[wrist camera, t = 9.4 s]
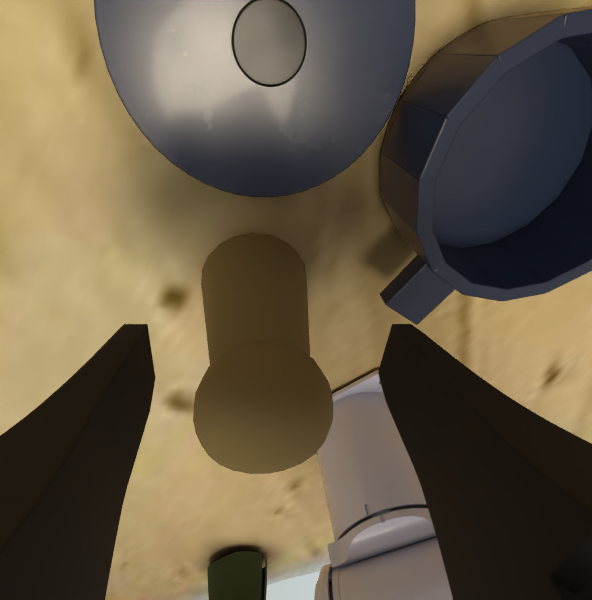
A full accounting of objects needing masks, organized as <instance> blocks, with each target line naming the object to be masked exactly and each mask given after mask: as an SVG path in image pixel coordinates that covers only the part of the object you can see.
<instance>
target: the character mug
mask: <svg viewBox="0 0 592 600" xmlns="http://www.w3.org/2000/svg"><path fill="white" fill-rule="evenodd" d="M266 588H267V558H266V561H265V567H264V568H262V555H261V554H260V553H256V552H252V551H242V552H234V553H232V554H230V555H228V556H225V557H223V558H221V559H219V560H217V561H215V562H213V563H212V564H211V565H210V566H209V567H208V592H209V600H266Z"/></svg>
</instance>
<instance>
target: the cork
mask: <svg viewBox="0 0 592 600" xmlns="http://www.w3.org/2000/svg"><path fill="white" fill-rule="evenodd" d="M201 285H202V294H203V304H204V313H205V322H206V331H207V341H208V350H209V359H210V366H209V367H208V369H207V371H206V373H205V375H204V377H203V379H202V380H201V383H200V385H199V387H198V389H197V391H196V395H195V402H194V417H193V421H194V426H195V431H196V434H197V436H198V438H199V441H200V443H201V445H202V447H203V448H204V449H205V451H206V452H207V454H208V455H209V456H210V457H211V458H212V459H213V460H215V461H216V462H217V463H218V464H220V465H222V466H224V467H226V468H229V469H231V470H233V471H239V472H245V473H251V474H265V473H273V472H278V471H283V470H286V469H288V468H291V467H293V466H296V465H298V464H301V463H303V462H304V461H306V460H307V459H308V458H310V457H311V456H313V455H314V454H315V453H316V452H317V451H318V450H319V449H320V447H321V446H322V445H323V444H324V442H325V440H326V438H327V435H328V433H329V430H330V427H331V424H332V421H333V409H334V407H333V399H332V392H331V389H330V385H329V382H328V380H327V379H326V377H325V375H324V374H323V372H322V371H321V369H320V368H319V366H318V365H317V363H316V362H315V360H314V359H313V358H311V357H310V344H309V324H308V303H307V282H306V273H305V266H304V264H303V262H302V260H301V258H300V257H299V255H298V253H297V252H296V251H295V250H294V249H293V248H291V247H290V246H289V245H288V244H287V243H286V242H284V241H282V240H279V239H277V238H275V237H272V236H270V235H261V234H247V235H242V236H236V237H234V238H232V239H230V240H228V241H226V242H224V243H222V244H220V245H219V246H218V247H217V248H216V249H215V250H214V251H213V252H212V253H211V254H210V255H209V256H208V258H207V261H206V263H205V265H204V267H203V270H202V284H201Z"/></svg>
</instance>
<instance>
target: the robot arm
mask: <svg viewBox="0 0 592 600" xmlns="http://www.w3.org/2000/svg"><path fill="white" fill-rule="evenodd" d="M154 382H155V373H154V366H153V359H152V353H151V346H150V339H149V332H148V326H147V324H124V325H123V326H122V327H121V328H120V329H119V330H118V331H117V332H116V333H115V334H114V335H113V336H112V337H111V338H110V339H109V340H108V341H107V342H106V343H105V344H104V345H103V346H102V347H101V348H100V349H99V350H98V351H97V352H96V353H95V354H94V356H93V357H92V358H91V359H90V360H88V361H87V362H86V363H85V364H84V365H83V366H82V367H81V368H80V369H79V370H78V371H77V372H76V373H75V374H74V375H73V376H72V377H71V378H70V379H69V380H68V381H67V382H66V383H64V384H63V385H62V386H61V387H60V388H59V389H58V390H57V391H55V392H54V393H53V394H52V395H51V396H50V397H49V398H48V399H46V400H45V401H44V402H43V403H42V404H41V405H39V406H38V407H37V408H36V409H35V410H33V411H32V412H31V413H30V414H28V415H27V416H26V417H25V418H23V419H22V420H21V421H20V422H18V423H17V424H16V425H14V426H13V427H12V428H10V429H9V430H8V431H6V432H5V433H4V434H2V435H1V436H0V600H105V596H106V590H107V584H108V579H109V573H110V568H111V562H112V557H113V551H114V546H115V540H116V535H117V530H118V525H119V520H120V515H121V510H122V505H123V501H124V497H125V493H126V489H127V485H128V482H129V479H130V475H131V472H132V469H133V465H134V462H135V459H136V455H137V452H138V449H139V445H140V442H141V439H142V435H143V432H144V429H145V425H146V422H147V419H148V415H149V412H150V407H151V401H152V395H153V389H154ZM332 399H333V407H334V409H333V421H332V424H331V427H330V430H329V433H328V435H327V438H326V440H325V442H324V444H323V445H322V446H321V447H320V449H319V450H318V451H317V453H318V458H319V463H320V468H321V473H322V478H323V483H324V488H325V493H326V499H327V504H328V509H329V514H330V519H331V524H332V529H333V534H334V539H335V542H333V543H330V544H328V550H329V556H330V561H331V564H328V565H325V566H323V567H322V569H321V572H320V575H319V579H318V581H317V584H316V588H315V600H592V444H591V443H589V442H587V441H585V440H583V439H581V438H579V437H577V436H575V435H573V434H571V433H570V432H568V431H566V430H564V429H562V428H560V427H558V426H556V425H555V424H553V423H551V422H549V421H547V420H546V419H544V418H542V417H540V416H539V415H537V414H535V413H534V412H532V411H530V410H529V409H527V408H525V407H524V406H522V405H521V404H519V403H517V402H516V401H514V400H512V399H511V398H509V397H508V396H506V395H505V394H503V393H502V392H500V391H499V390H497V389H496V388H495V387H493V386H492V385H490V384H489V383H487V382H486V381H485V380H483V379H482V378H480V377H479V376H478V375H476V374H475V373H474V372H472V371H471V370H470V369H468V368H467V367H466V366H464V365H463V364H462V363H460V362H459V361H458V360H457V359H455V358H454V357H453V356H451V355H450V354H449V353H448V352H446V351H445V350H444V349H443V348H441V347H440V346H439V345H438V344H436V343H435V342H434V341H433V340H431V339H430V338H429V337H428V336H426V335H425V334H424V333H422V332H421V331H420V330H418V329H417V328H416V327H414V326H413V325H411V324H392V327H391V330H390V334H389V337H388V341H387V344H386V347H385V351H384V354H383V358H382V361H381V365H380V368H379V370H376V371H374V372H372V373H370V374H368V375H367V376H365V377H363V378H361V379H359V380H357V381H355V382H354V383H352V384H350V385H348V386H346V387H344V388H342V389H340V390H339V391H337V392H335V393H333V394H332Z"/></svg>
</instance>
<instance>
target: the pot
mask: <svg viewBox="0 0 592 600" xmlns="http://www.w3.org/2000/svg"><path fill="white" fill-rule="evenodd" d="M379 176H380V188H381V193H382V198H383V202H384V204H385V207H386V210H387V212H388V214H389V216H390V218H391V220H392V221H393V223H394V224H395V226H396V229H397V231H398V232H399V234H400V235H401V236H402V237H403V238H404V239H405V241H406V242H407V243H408V244H409V245H410V246H411V248H412V249H413V250H414V251H415V252H416V253H417V254H418V255H417V256H416V257H415V258H414V259H413V260H412V261H411V262H410V263H409V264H408V265H407V266H406V267H405V268H404V269H403V270H402V271H401V272H400V273H399V275H398V276H397V277H396V278H395V279H394V280H393V281H392V282H391V283H390V284H389V285H388V286H387V287H386V288H385V289H384V290H383V291H382V292H381V293H380V296H381V298H382V299H383V301H384V303H385V305H387V306H388V307H390V308H391V309H393V310H394V311H396V312H398V313H399V314H401V315H402V316H404V317H405V318H407V319H409V320H410V321H412V322H413V323H415V324H416V325H417V324H419V323H420V322H421V321H422V320H423V319H424V318H425V317H426V316H427V315H428V314H429V313H430V312H431V311H432V310H433V309H435V308H436V307H437V306H438V305H439V304H440V303H441V302H442V301H443V300H444V299H445V298H446V297H447V296H448V295H449V294H451V293H452V292H453V291H454V290H455V289H456V290H457V291H458V292H460V293H461V294H463V295H468V296H473V297H479V298H485V299H491V300H497V301H507V300H513V299H518V298H523V297H528V296H534V295H539V294H544V293H546V292H550V291H552V290H554V289H556V288H558V287H560V286H562V285H564V284H566V283H568V282H570V281H572V280H574V279H576V278H578V277H580V276H582V275H584V274H586V273H588V272H590V271H592V6H590V7H581V8H571V9H562V10H553V11H544V12H536V13H530V14H524V15H518V16H510V17H505V18H500V19H494V20H491V21H488V22H486V23H485V24H483V25H480V26H478V27H475V28H473V29H471V30H470V31H468V32H466V33H464V34H463V35H461V36H459V37H457V38H456V39H455V40H453V41H452V42H451V43H449V44H448V45H447V46H445V47H444V48H443V49H441V50H440V51H439V52H438V53H437V54H436V55H435V56H434V57H433V58H432V59H431V60H430V61H429V62H427V64H426V65H425V66H424V67H423V68H422V69H421V71H420V72H419V73H418V74H417V75H416V76H415V78H414V79H413V80H412V82H411V83H410V85H409V86H408V88H407V89H406V91H405V92H404V94H403V95H402V97H401V99H400V101H399V103H398V104H397V106H396V108H395V110H394V112H393V115H392V117H391V120H390V122H389V124H388V127H387V131H386V134H385V137H384V141H383V145H382V151H381V156H380V171H379Z"/></svg>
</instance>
